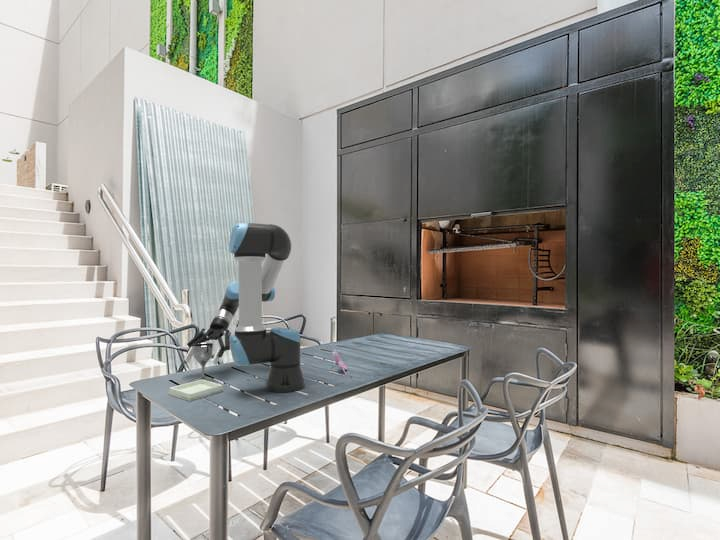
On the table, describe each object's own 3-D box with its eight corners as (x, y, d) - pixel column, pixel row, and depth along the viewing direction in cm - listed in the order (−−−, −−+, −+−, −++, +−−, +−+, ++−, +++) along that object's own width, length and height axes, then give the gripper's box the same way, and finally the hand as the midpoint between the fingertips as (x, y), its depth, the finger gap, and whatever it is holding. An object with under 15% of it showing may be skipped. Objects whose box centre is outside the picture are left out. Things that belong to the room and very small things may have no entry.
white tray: (222, 391, 149) (222, 385, 149) (189, 401, 138) (189, 394, 138) (202, 385, 157) (202, 379, 157) (169, 394, 146) (169, 387, 146)
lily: (335, 379, 170) (346, 359, 171) (316, 365, 176) (327, 346, 177) (347, 381, 181) (357, 362, 181) (329, 367, 187) (339, 350, 187)
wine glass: (188, 380, 164) (188, 345, 164) (204, 376, 171) (204, 342, 171) (201, 383, 160) (201, 347, 160) (217, 378, 167) (217, 343, 167)
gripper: (248, 327, 177) (229, 368, 163) (201, 325, 184) (179, 365, 169) (242, 317, 172) (222, 359, 158) (194, 315, 179) (170, 355, 164)
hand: (199, 362), depth 164 cm, fingers open, 13 cm apart
